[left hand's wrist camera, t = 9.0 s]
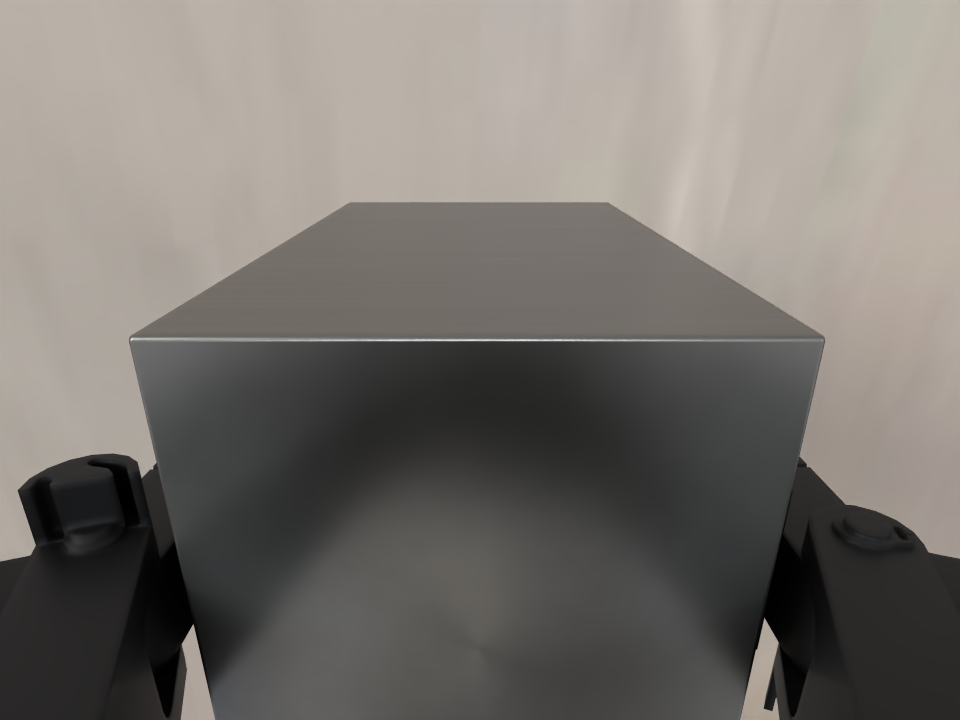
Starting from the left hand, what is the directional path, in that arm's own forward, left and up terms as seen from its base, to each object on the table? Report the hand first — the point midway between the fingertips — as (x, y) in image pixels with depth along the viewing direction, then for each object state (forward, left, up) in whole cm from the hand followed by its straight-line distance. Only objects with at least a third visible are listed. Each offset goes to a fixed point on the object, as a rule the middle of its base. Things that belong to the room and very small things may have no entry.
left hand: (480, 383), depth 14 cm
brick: (0, 0, -2) cm, 2 cm away
